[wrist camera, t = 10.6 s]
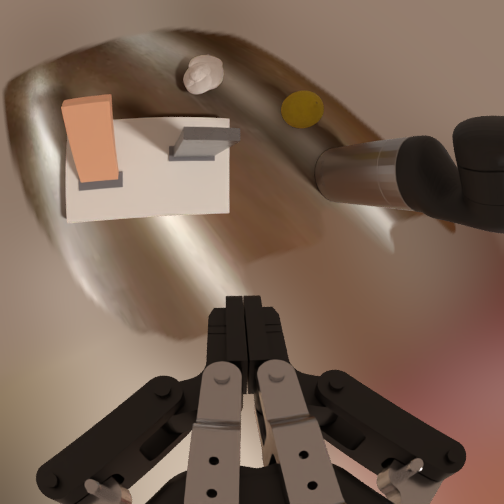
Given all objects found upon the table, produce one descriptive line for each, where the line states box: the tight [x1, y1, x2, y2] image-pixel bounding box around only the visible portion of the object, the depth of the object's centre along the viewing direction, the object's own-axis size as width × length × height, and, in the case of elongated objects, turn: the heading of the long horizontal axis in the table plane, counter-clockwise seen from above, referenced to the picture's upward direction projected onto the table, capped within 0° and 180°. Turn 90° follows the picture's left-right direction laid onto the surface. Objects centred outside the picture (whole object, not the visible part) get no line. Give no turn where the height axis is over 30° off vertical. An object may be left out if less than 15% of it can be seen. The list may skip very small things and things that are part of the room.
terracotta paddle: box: [61, 94, 119, 183], centre depth 25 cm, size 5×1×12 cm
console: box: [66, 117, 229, 223], centre depth 34 cm, size 22×13×2 cm, turn 91°
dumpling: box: [183, 54, 224, 94], centre depth 33 cm, size 7×5×4 cm
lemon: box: [281, 91, 324, 128], centre depth 36 cm, size 6×6×8 cm
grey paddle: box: [173, 127, 240, 158], centre depth 28 cm, size 5×1×12 cm, turn 91°
